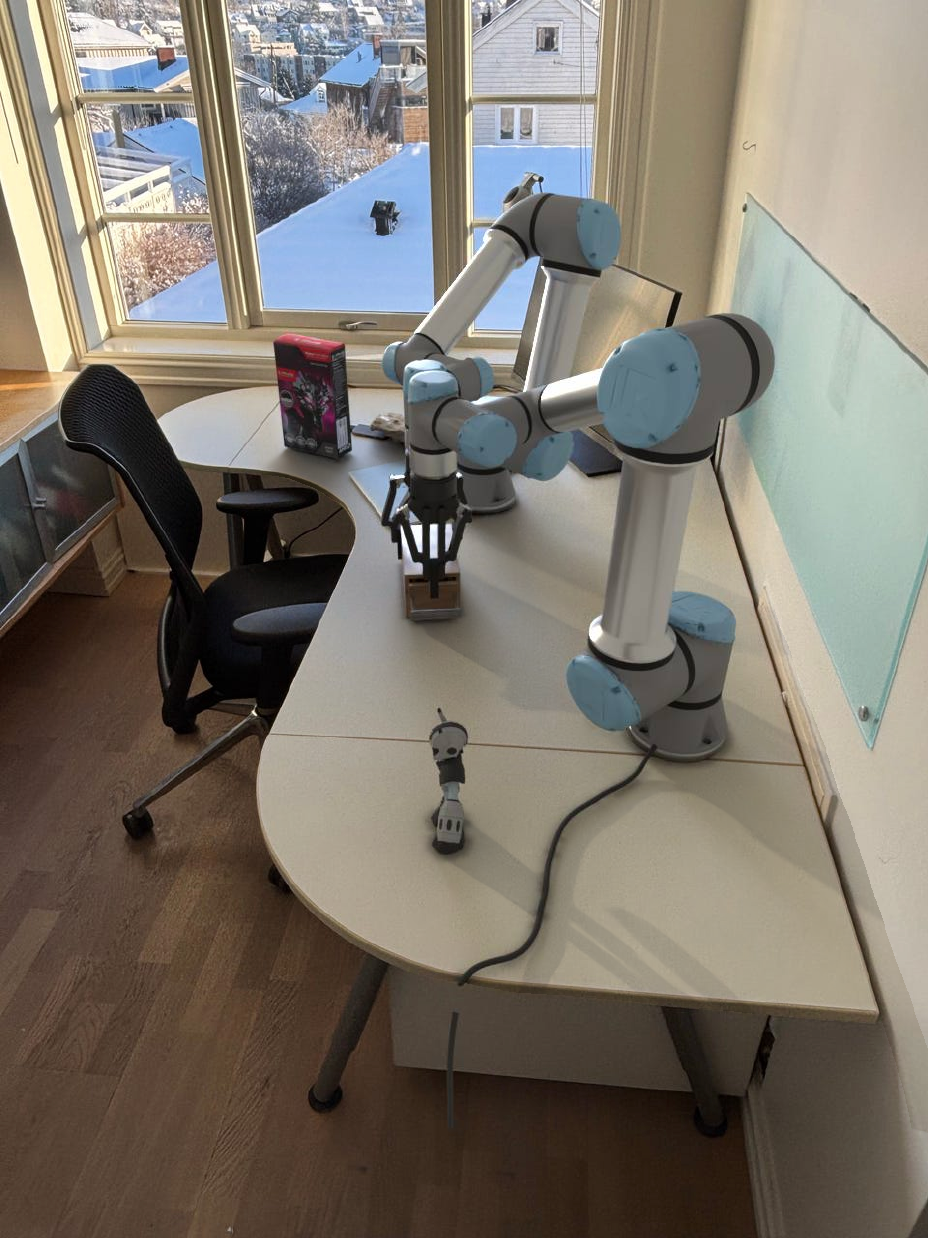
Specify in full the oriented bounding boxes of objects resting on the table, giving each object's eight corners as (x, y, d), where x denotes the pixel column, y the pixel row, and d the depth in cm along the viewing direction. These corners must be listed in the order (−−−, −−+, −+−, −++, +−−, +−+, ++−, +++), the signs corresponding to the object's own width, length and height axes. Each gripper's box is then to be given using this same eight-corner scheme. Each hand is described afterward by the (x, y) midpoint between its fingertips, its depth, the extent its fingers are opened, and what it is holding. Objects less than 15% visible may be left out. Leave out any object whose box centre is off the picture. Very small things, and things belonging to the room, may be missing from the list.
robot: (470, 888, 117) (472, 772, 106) (432, 889, 117) (430, 773, 106) (463, 780, 133) (464, 669, 122) (429, 781, 133) (427, 670, 122)
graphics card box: (282, 447, 232) (270, 339, 217) (298, 438, 237) (288, 331, 222) (338, 461, 225) (330, 350, 210) (354, 451, 230) (347, 342, 215)
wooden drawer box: (459, 615, 170) (460, 572, 165) (405, 617, 169) (404, 575, 164) (451, 563, 185) (451, 523, 180) (401, 565, 184) (400, 525, 179)
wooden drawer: (461, 637, 162) (461, 602, 158) (411, 639, 161) (410, 605, 157) (449, 568, 182) (449, 536, 178) (405, 570, 181) (404, 538, 177)
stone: (354, 436, 230) (358, 412, 227) (375, 427, 243) (380, 405, 241) (432, 460, 226) (438, 436, 224) (450, 450, 240) (455, 428, 237)
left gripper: (485, 438, 171) (482, 543, 184) (363, 442, 169) (368, 547, 182) (489, 454, 165) (486, 562, 178) (363, 458, 163) (369, 567, 176)
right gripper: (471, 458, 151) (468, 581, 164) (391, 461, 150) (395, 584, 163) (476, 479, 145) (473, 604, 158) (393, 481, 143) (397, 607, 157)
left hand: (427, 555), depth 180 cm, fingers closed on wooden drawer box, 10 cm apart
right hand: (433, 594), depth 160 cm, fingers closed
